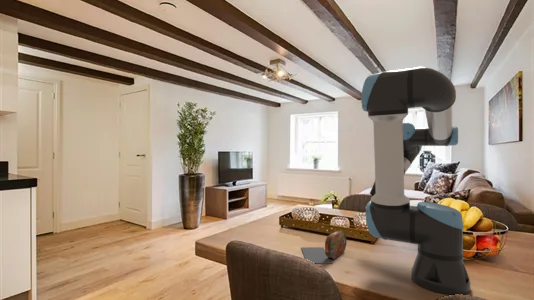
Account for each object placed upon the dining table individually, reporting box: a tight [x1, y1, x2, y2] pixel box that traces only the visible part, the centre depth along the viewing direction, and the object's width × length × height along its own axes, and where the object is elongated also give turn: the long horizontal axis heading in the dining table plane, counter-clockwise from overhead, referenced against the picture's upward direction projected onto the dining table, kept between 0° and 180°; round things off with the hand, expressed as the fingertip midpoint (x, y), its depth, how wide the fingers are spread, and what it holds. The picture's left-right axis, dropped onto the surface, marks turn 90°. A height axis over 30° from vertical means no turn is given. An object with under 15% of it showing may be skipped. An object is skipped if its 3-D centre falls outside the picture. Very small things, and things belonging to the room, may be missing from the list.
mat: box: [300, 246, 333, 265], centre depth 107 cm, size 16×9×1 cm, turn 0°
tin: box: [324, 230, 347, 260], centre depth 107 cm, size 15×3×8 cm, turn 143°
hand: (368, 210), depth 115 cm, fingers closed
